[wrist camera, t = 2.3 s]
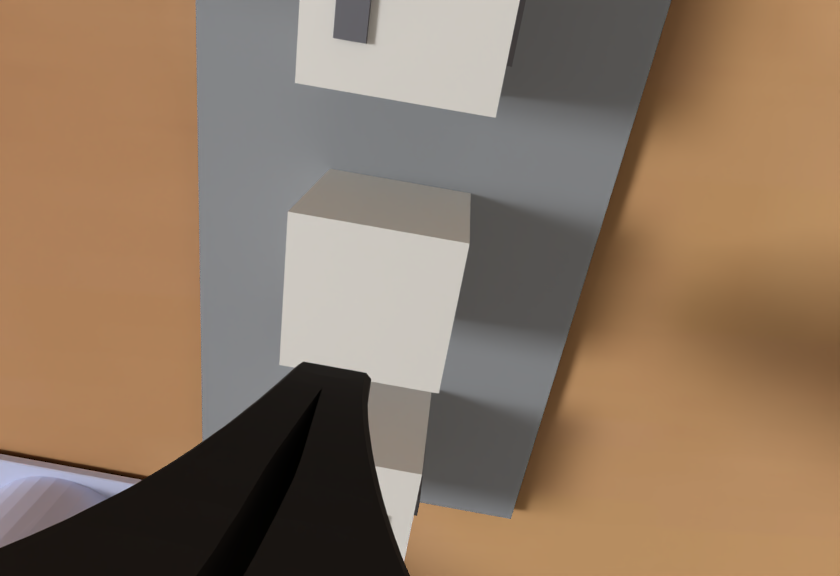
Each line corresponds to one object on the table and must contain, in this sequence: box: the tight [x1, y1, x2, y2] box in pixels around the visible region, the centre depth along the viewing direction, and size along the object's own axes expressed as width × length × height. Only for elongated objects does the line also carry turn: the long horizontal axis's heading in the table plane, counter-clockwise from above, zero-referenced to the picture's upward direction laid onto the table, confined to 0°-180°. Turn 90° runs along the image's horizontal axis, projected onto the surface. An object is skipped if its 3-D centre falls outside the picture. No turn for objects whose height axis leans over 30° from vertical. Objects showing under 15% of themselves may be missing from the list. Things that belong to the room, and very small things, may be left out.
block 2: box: [368, 382, 431, 561], centre depth 20 cm, size 4×5×5 cm
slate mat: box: [196, 0, 671, 519], centre depth 19 cm, size 22×13×1 cm, turn 171°
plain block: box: [279, 169, 471, 394], centre depth 17 cm, size 4×4×4 cm
